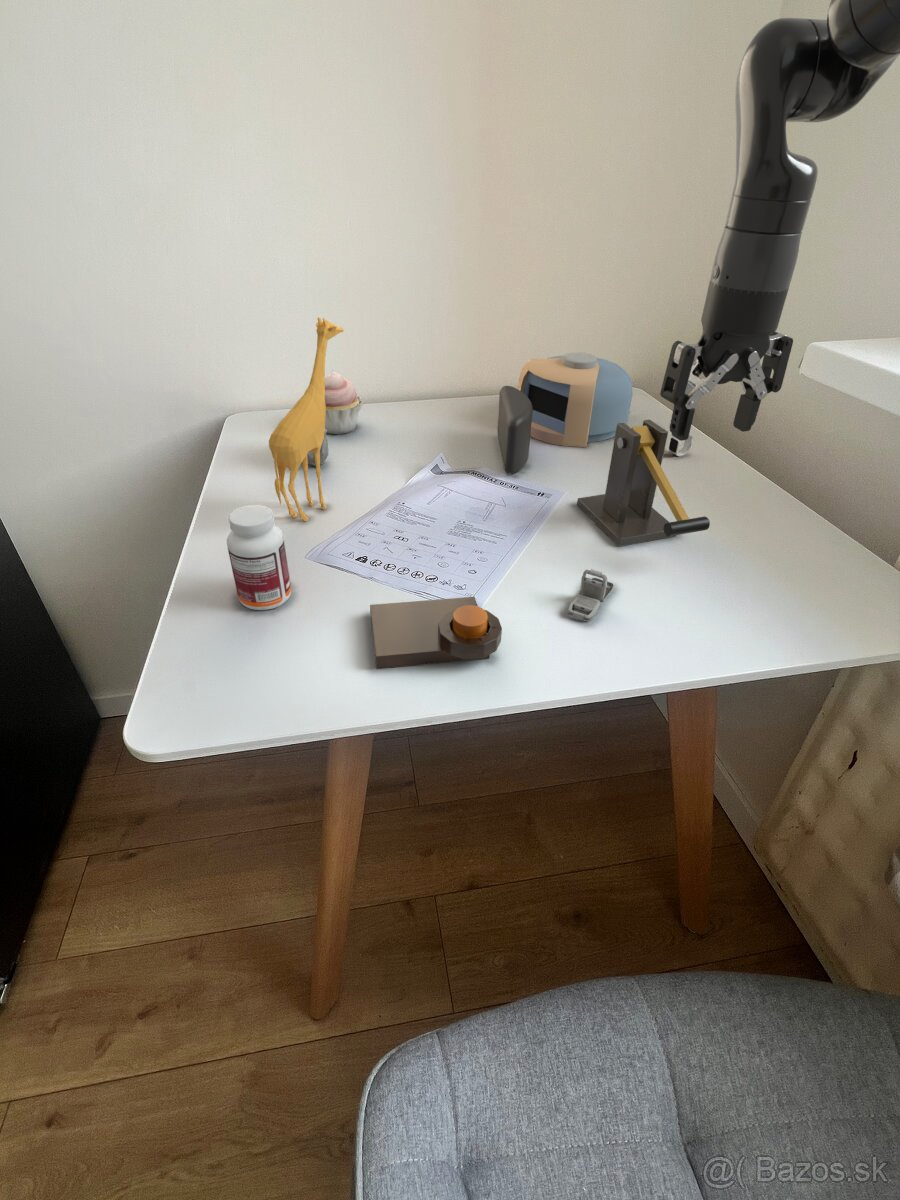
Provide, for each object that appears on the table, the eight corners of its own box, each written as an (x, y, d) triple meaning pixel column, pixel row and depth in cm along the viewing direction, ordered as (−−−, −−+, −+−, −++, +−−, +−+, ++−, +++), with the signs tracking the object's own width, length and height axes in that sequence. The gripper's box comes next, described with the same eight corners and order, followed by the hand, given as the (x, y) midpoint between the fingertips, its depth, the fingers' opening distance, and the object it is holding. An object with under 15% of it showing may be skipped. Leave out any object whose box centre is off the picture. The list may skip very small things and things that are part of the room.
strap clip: (589, 624, 79) (595, 594, 77) (565, 616, 80) (569, 586, 78) (614, 587, 85) (620, 558, 83) (591, 580, 86) (596, 551, 84)
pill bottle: (261, 576, 85) (248, 496, 79) (302, 590, 83) (292, 509, 77) (226, 602, 81) (209, 520, 74) (269, 618, 79) (254, 534, 72)
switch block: (484, 607, 81) (486, 582, 79) (504, 668, 73) (507, 642, 71) (370, 616, 79) (369, 591, 77) (377, 680, 71) (376, 654, 69)
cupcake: (351, 414, 128) (348, 359, 122) (373, 432, 122) (370, 375, 116) (303, 423, 125) (297, 367, 119) (322, 442, 118) (317, 383, 112)
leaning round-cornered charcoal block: (533, 478, 109) (539, 420, 103) (504, 478, 108) (508, 419, 103) (522, 436, 122) (526, 382, 116) (495, 436, 122) (499, 382, 116)
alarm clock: (495, 421, 127) (499, 354, 120) (566, 397, 138) (574, 334, 131) (577, 456, 116) (587, 384, 108) (647, 426, 127) (660, 358, 119)
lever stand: (676, 536, 95) (699, 441, 87) (618, 546, 93) (636, 450, 85) (630, 496, 104) (647, 407, 96) (576, 505, 102) (589, 414, 94)
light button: (483, 616, 75) (484, 603, 74) (490, 638, 72) (491, 624, 71) (450, 619, 74) (450, 606, 73) (455, 641, 71) (456, 627, 70)
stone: (350, 466, 111) (345, 405, 105) (314, 479, 107) (308, 416, 101) (315, 447, 116) (310, 388, 110) (281, 459, 112) (272, 398, 106)
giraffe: (339, 480, 107) (325, 308, 92) (363, 486, 105) (353, 312, 90) (269, 526, 95) (240, 338, 80) (294, 535, 93) (270, 344, 79)
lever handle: (704, 534, 87) (713, 522, 85) (666, 541, 85) (674, 529, 83) (650, 436, 94) (657, 423, 92) (614, 441, 92) (620, 428, 90)
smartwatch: (683, 450, 118) (688, 428, 116) (692, 455, 117) (697, 432, 114) (666, 454, 117) (671, 431, 115) (675, 459, 115) (680, 436, 113)
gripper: (715, 292, 64) (677, 455, 74) (834, 283, 69) (784, 438, 78) (667, 275, 70) (638, 428, 80) (780, 268, 74) (739, 414, 84)
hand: (710, 433), depth 79 cm, fingers open, 8 cm apart
